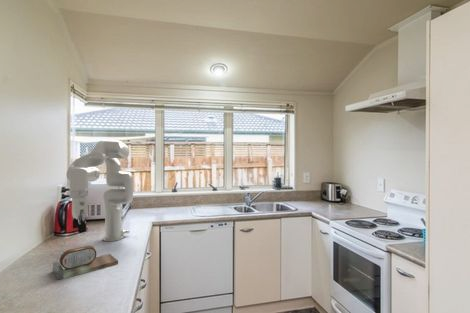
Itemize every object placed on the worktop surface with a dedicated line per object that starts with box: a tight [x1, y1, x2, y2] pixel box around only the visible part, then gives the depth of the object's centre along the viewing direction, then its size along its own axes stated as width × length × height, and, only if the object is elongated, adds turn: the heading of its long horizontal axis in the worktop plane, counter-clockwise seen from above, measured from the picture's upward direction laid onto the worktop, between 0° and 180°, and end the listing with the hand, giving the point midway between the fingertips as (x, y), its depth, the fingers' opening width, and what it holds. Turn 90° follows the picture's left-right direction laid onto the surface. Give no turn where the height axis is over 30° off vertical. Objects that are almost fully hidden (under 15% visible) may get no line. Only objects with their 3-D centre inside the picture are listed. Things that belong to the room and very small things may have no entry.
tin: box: [59, 245, 97, 269], centre depth 124 cm, size 15×3×8 cm, turn 133°
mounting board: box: [61, 253, 119, 280], centre depth 127 cm, size 23×12×2 cm, turn 133°
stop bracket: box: [52, 261, 63, 281], centre depth 118 cm, size 2×12×4 cm, turn 43°
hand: (79, 230), depth 124 cm, fingers open, 9 cm apart
